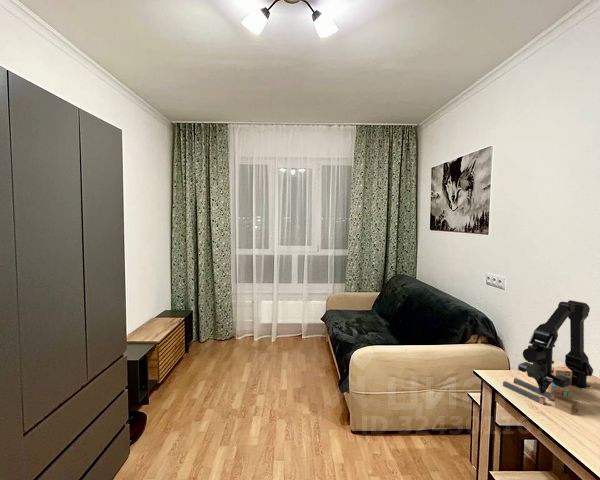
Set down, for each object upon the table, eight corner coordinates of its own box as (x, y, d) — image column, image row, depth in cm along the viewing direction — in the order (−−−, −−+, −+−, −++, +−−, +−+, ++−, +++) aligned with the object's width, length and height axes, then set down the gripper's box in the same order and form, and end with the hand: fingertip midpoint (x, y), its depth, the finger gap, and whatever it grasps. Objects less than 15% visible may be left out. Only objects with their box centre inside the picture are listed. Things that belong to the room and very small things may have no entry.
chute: (515, 382, 168) (515, 376, 168) (556, 400, 151) (556, 394, 151) (502, 385, 164) (503, 380, 164) (543, 404, 148) (543, 399, 148)
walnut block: (561, 404, 148) (562, 395, 148) (577, 411, 143) (578, 402, 142) (554, 407, 146) (554, 398, 146) (570, 415, 141) (571, 405, 140)
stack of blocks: (532, 375, 175) (533, 350, 174) (546, 376, 174) (547, 351, 173) (554, 397, 154) (556, 369, 153) (571, 398, 153) (572, 370, 152)
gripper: (510, 353, 156) (509, 387, 157) (556, 370, 139) (554, 408, 140) (526, 349, 161) (525, 382, 162) (572, 364, 144) (570, 402, 145)
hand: (542, 393), depth 152 cm, fingers closed
